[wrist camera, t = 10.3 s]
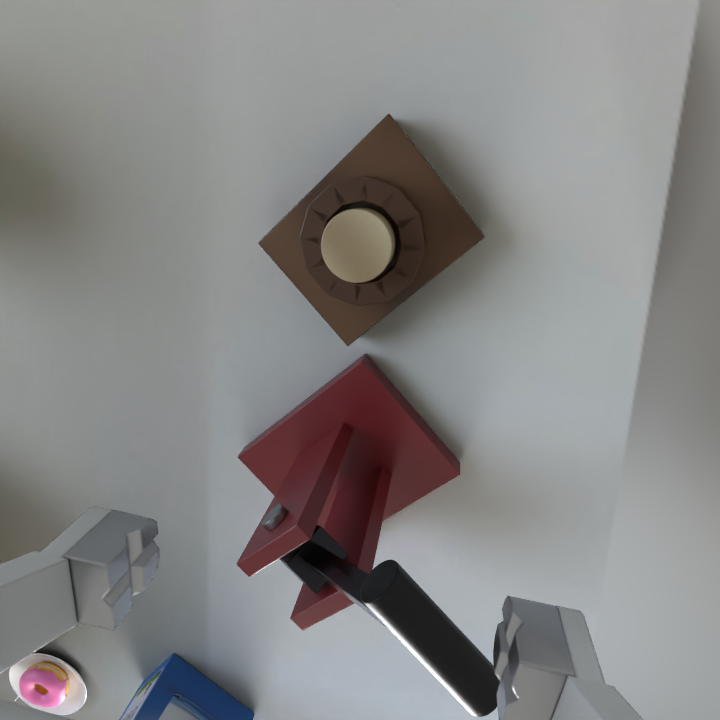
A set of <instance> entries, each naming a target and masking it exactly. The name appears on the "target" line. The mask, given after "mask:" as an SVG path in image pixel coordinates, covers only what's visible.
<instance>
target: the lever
mask: <svg viewBox="0 0 720 720" xmlns="http://www.w3.org/2000/svg"><path fill="white" fill-rule="evenodd" d="M347 557H348V554H347V553H346V552H345V551H344V550H343V549H342V548H341V547H340V546H339V544H338V543H337V542H336V541H335V540H334V539H333V538H332V537H331V536H330V535H329V534H328V533H327V532H326V531H325V530H324V529H323V528H322V527H321V526H319V525H316V527H315V530H314V532H313V535H312V538H311V539H310V540H308V541H307V542H305V543H303V544H302V545H300V546H299V547H297V548H295V549H294V550H292V551H291V552H289V553H287V554H286V555H284V556H283V557H281V558H280V560H281V561H282V562H283V563H284V564H285V565H286V566H287V567H288V568H289V569H290V570H291V571H292V572H293V573H294V574H295V575H296V576H297V577H298V578H299V579H300V580H301V581H302V582H303V583H304V584H305V585H306V586H307V587H308V588H309V589H311V590H312V591H313V592H314V593H315V594H317V593H318V592H319V591H320V590H321V588H322V587H323V586H324V585H325V584H326V582H328V583H330V584H331V585H332V586H333V587H335V588H336V589H337V590H339V591H340V592H341V593H342V594H344V595H345V596H346V597H348V598H349V599H350V600H352V601H353V602H354V603H355V604H357V605H358V606H359V607H361V608H362V609H363V610H365V611H366V612H367V613H368V614H370V615H371V616H372V617H374V618H375V619H376V620H377V621H379V622H380V623H381V624H383V625H384V626H385V627H387V628H388V629H389V630H390V631H391V632H392V633H393V634H394V635H395V636H396V637H397V638H398V639H399V640H400V641H401V642H402V643H403V644H404V645H405V646H406V647H407V648H408V649H409V650H410V652H411V653H412V654H413V655H414V656H415V657H416V658H417V659H418V660H419V661H420V662H421V663H422V664H423V665H424V666H425V667H426V668H427V669H428V670H429V671H430V672H431V673H432V674H433V675H434V676H435V677H436V678H437V679H438V680H439V682H440V683H441V684H442V685H443V686H444V687H445V688H446V689H447V690H448V691H449V692H450V693H451V694H452V695H453V696H454V697H455V698H456V699H457V700H458V701H459V702H460V703H461V704H462V705H463V706H464V707H465V708H466V709H467V711H468V712H469V713H471V714H472V715H474V716H478V717H481V716H486V715H488V714H490V713H491V712H492V711H494V710H495V709H496V707H497V696H496V693H497V690H498V686H499V683H500V680H499V679H498V677H497V676H496V674H495V673H494V666H493V665H492V664H491V663H490V662H489V660H488V659H487V658H486V657H485V656H484V655H483V654H482V653H481V652H480V651H479V650H478V649H477V648H476V646H475V645H474V644H473V643H472V642H471V641H470V640H469V639H468V638H467V637H466V636H465V635H464V634H463V633H462V631H461V630H460V629H459V628H458V627H457V626H456V625H455V624H454V623H453V622H452V621H451V620H450V619H449V618H448V616H447V615H446V614H445V613H444V612H443V611H442V610H441V609H440V608H439V607H438V606H437V605H436V604H435V603H434V601H433V600H432V599H431V598H430V597H429V596H428V595H427V594H426V593H425V592H424V591H423V590H422V589H421V588H420V586H419V585H418V584H417V583H416V582H415V581H414V580H413V579H412V578H411V577H410V576H409V575H408V574H407V573H406V571H405V570H404V569H403V568H402V567H401V566H400V565H399V564H398V563H397V562H396V561H394V560H387V561H384V562H382V563H380V564H379V565H378V566H376V567H375V568H374V569H373V570H372V571H371V572H370V573H369V574H367V573H366V572H364V571H362V570H361V569H359V568H357V567H355V566H354V565H352V564H350V563H349V562H347V561H345V559H346V558H347Z"/></svg>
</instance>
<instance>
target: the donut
mask: <svg viewBox="0 0 720 720" xmlns="http://www.w3.org/2000/svg"><path fill="white" fill-rule="evenodd" d="M9 679H10V683H11V685H12V687H13V689H14V691H15V692H16V694H17V695H18V697H17V698H19V697H20V698H21V699H22V700H23V701H24V702H25V703H27V704H28V705H30V706H31V707H33V708H35V709H38V710H41V711H45V712H48V713H52V714H55V715H66V714H71V713H73V712H76V711H77V710H79V709H80V708H81V707H82V706H83V705H84V703H85V701H86V698H87V690H86V685H85V683H84V681H83V679H82V677H81V676H80V674H79V673H78V672H77V671H76V670H75V669H74V668H73V667H72V666H70V665H69V664H68V663H66V662H64V661H63V660H61V659H59V658H57V657H54V656H51V655H47V654H42V653H32V654H31V655H29V656H28V657H26V658H24V659H23V660H21V661H20V662H18V663H17V664H15V665H13V666H12V667H10V671H9ZM17 698H16V699H17ZM15 701H16V700H15Z"/></svg>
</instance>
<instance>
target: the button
mask: <svg viewBox="0 0 720 720" xmlns="http://www.w3.org/2000/svg"><path fill="white" fill-rule="evenodd" d="M395 247H396V240H395V234H394V231H393V228H392V226H391V224H390V223H389V221H388V220H387V219H386V218H385V217H384V216H383V215H382V214H380V213H379V212H377V211H375V210H373V209H369V208H354V209H350V210H346V211H343V212H341V213H339V214H337V215H336V216H335V217H333V218H332V219H331V220H330V221H329V223H328V224H327V226H326V227H325V229H324V232H323V234H322V239H321V251H322V256H323V259H324V261H325V263H326V265H327V267H328V268H329V269H330V270H331V272H332V273H333V274H335V275H336V276H337V277H339V278H340V279H342V280H345V281H348V282H352V283H363V282H367V281H370V280H372V279H374V278H376V277H377V276H379V275H380V274H381V273H382V272H383V271H384V270H385V268H386V267H387V266H388V264H389V263H390V262H391V260H392V258H393V255H394V252H395Z"/></svg>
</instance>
